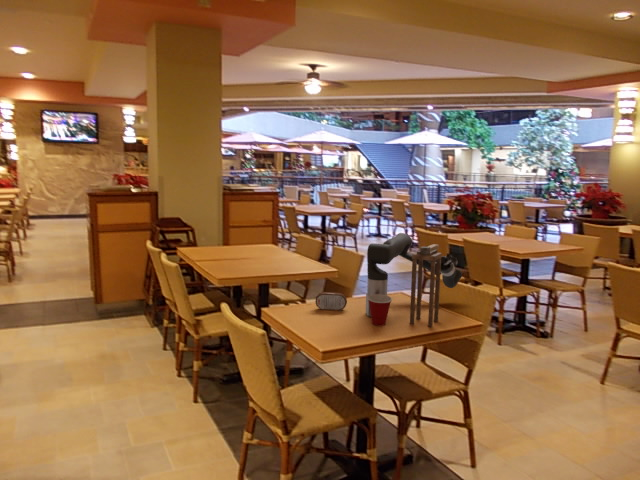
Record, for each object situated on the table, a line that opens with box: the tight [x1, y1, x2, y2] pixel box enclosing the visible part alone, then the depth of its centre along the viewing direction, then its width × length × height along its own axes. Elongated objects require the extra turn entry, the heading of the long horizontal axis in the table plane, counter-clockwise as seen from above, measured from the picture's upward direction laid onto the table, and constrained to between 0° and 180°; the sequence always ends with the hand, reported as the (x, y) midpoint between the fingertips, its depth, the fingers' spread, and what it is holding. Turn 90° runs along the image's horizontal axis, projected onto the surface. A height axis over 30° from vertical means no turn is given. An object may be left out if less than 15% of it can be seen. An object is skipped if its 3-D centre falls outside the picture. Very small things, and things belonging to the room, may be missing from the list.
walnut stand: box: [409, 250, 443, 328], centre depth 232 cm, size 10×10×32 cm
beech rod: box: [419, 243, 440, 255], centre depth 233 cm, size 3×18×3 cm, turn 151°
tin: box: [314, 291, 348, 312], centre depth 252 cm, size 15×3×8 cm, turn 84°
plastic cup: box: [367, 294, 393, 327], centre depth 230 cm, size 11×11×12 cm
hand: (438, 254), depth 246 cm, fingers open, 8 cm apart
